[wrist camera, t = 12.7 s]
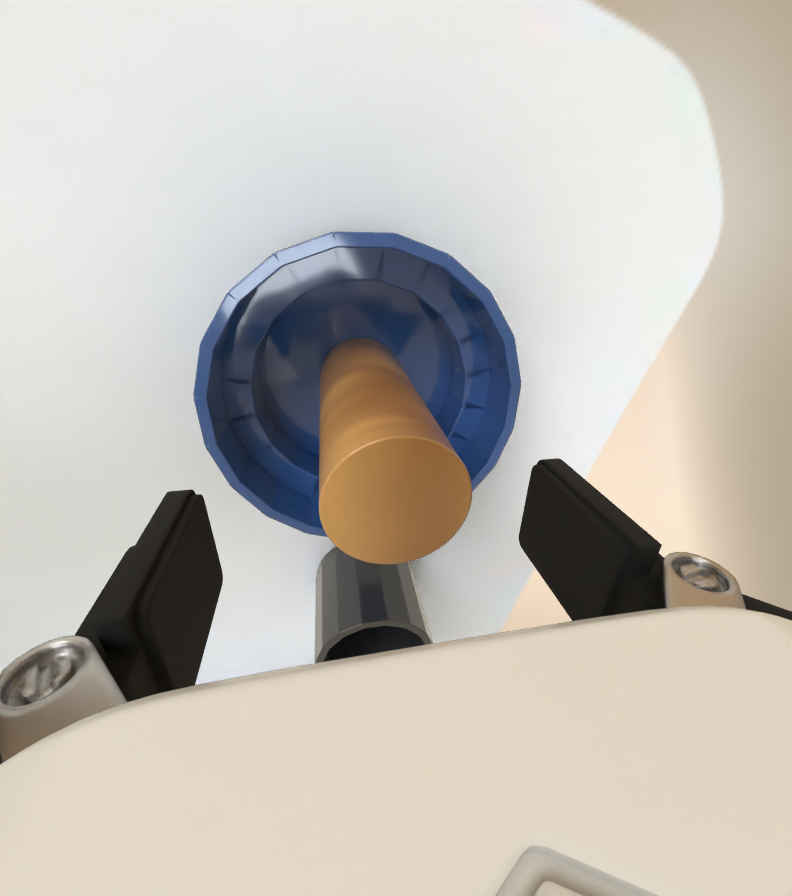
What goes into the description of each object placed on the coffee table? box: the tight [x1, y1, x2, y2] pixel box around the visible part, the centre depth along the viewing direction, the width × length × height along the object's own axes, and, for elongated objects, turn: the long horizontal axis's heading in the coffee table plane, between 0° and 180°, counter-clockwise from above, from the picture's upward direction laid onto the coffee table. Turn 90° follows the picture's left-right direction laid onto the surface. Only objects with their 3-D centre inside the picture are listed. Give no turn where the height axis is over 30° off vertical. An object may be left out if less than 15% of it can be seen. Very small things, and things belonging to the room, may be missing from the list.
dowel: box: [319, 338, 472, 564], centre depth 16 cm, size 4×4×12 cm
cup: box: [315, 547, 433, 663], centre depth 26 cm, size 7×7×7 cm
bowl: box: [194, 232, 521, 537], centre depth 20 cm, size 14×14×6 cm
